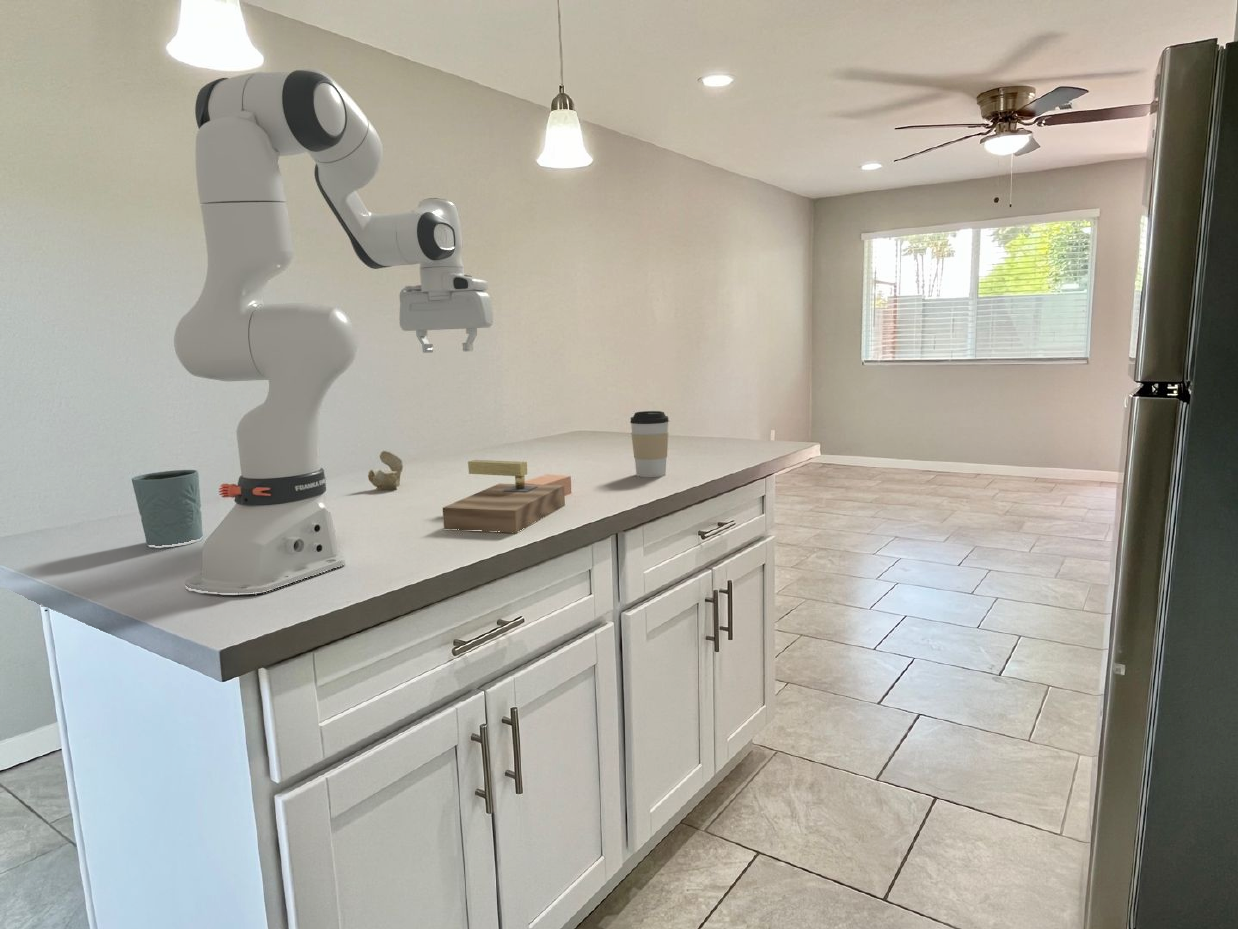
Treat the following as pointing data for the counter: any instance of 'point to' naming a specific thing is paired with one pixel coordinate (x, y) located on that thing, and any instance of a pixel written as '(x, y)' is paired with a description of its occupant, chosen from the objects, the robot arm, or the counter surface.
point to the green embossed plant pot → (169, 506)
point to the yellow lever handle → (500, 469)
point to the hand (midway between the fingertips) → (447, 352)
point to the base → (504, 507)
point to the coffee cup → (650, 443)
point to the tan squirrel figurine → (387, 472)
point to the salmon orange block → (553, 481)
